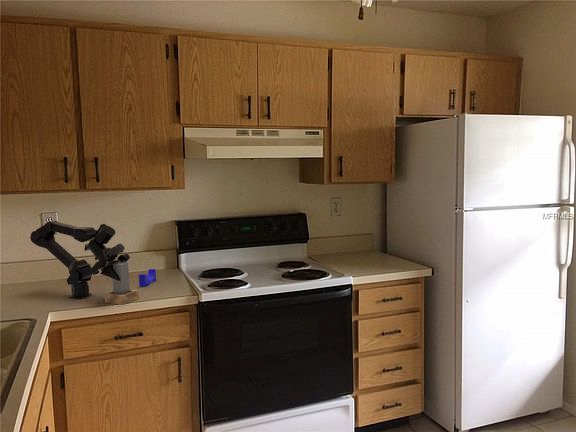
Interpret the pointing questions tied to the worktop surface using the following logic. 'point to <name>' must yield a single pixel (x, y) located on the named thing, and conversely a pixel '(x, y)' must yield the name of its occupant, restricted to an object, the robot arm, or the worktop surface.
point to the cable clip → (147, 278)
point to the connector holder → (121, 297)
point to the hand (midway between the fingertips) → (123, 278)
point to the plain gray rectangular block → (121, 278)
